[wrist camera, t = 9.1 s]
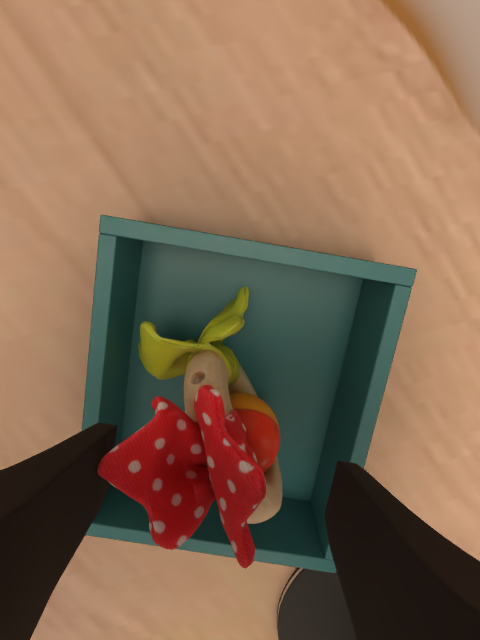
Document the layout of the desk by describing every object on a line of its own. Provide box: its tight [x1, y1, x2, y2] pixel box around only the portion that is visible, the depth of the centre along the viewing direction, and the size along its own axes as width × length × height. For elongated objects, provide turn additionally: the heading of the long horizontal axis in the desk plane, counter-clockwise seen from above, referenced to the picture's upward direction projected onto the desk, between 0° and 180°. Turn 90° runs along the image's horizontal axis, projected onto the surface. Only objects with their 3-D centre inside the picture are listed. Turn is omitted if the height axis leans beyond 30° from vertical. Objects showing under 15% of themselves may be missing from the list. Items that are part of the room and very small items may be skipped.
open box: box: [82, 215, 417, 573], centre depth 18 cm, size 14×12×5 cm
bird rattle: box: [97, 286, 282, 568], centre depth 15 cm, size 6×11×9 cm
